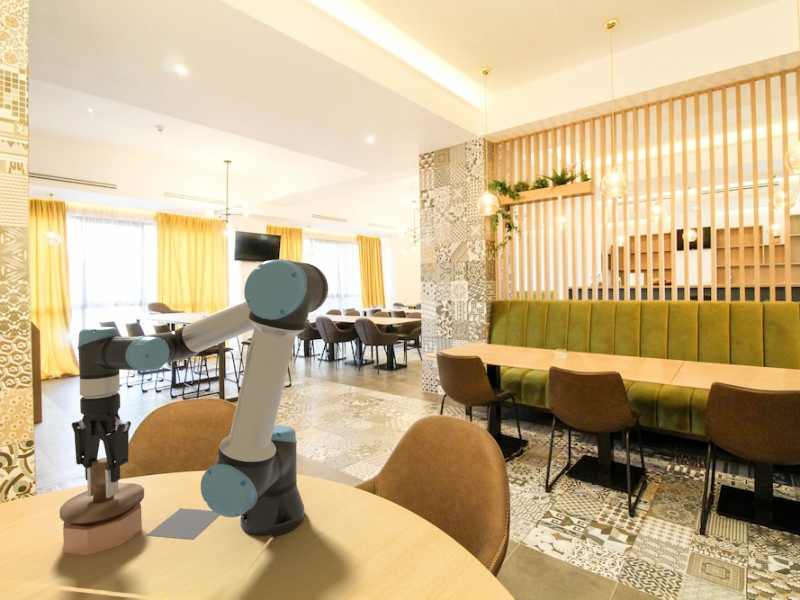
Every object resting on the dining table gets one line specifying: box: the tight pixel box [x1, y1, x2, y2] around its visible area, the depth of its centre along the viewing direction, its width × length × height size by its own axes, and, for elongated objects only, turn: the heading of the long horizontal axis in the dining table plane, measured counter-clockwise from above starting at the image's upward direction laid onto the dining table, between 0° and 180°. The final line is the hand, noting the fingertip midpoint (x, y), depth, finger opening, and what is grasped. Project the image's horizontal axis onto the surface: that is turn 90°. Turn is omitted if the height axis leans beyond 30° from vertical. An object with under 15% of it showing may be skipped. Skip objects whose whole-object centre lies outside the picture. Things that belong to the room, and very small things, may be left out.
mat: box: [146, 507, 220, 540], centre depth 102 cm, size 12×12×1 cm
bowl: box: [62, 502, 143, 556], centre depth 97 cm, size 14×14×6 cm
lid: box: [59, 457, 145, 523], centre depth 97 cm, size 16×16×10 cm
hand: (103, 494), depth 97 cm, fingers closed on lid, 4 cm apart
